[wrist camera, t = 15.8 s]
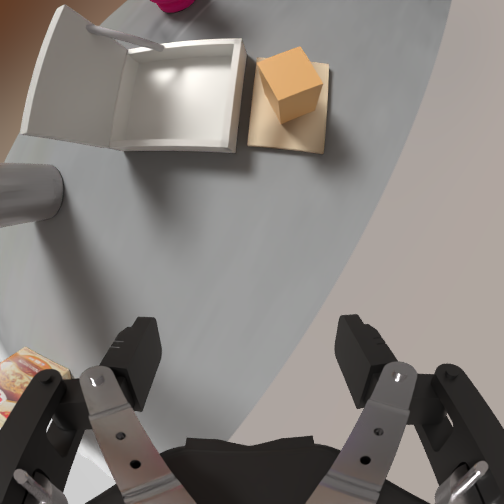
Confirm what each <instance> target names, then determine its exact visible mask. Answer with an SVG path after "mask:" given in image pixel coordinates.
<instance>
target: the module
mask: <svg viewBox="0 0 504 504" xmlns="http://www.w3.org/2000/svg"><path fill="white" fill-rule="evenodd" d="M257 66H258V70H259V74H260V78H261V82H262V86H263V90H264V94H265V95H266V97H267V99H268V101H269V103H270V105H271V107H272V108H273V110H274V112H275V114H276V116H277V118H278V120H279V122H280V124H283V123H285V122H288V121H290V120H293V119H295V118H297V117H300V116H302V115H305V114H307V113H310V112H312V111H315V109H316V106H317V102H318V99H319V96H320V93H321V89H322V86H323V82H322V80H321V79H320V77H319V75H318V74H317V72H316V70H315V69H314V67H313V65H312V64H311V62H310V61H309V59H308V58H307V56H306V54H305V53H304V51H303V50H302V48H301V47H297V48H294V49H291V50H288V51H286V52H283V53H280V54H277V55H275V56H272V57H270V58H267V59H265V60H262V61H260V62H257Z"/></svg>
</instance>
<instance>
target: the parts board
mask: <svg viewBox="0 0 504 504" xmlns="http://www.w3.org/2000/svg"><path fill="white" fill-rule="evenodd" d="M265 59H267V58H257V62H260V61H262V60H265ZM257 62H256V70H255V79H254V88H253V96H252V105H251V115H250V124H249V133H248V142H247V145H248V146H252V147H264V148H275V149H285V150H294V151H303V152H310V153H318V154H323V153H324V144H325V131H326V116H327V99H328V78H329V64H323V63H316V62H311V64H312V65H313V67H314V69H315V70H316V72H317V74H318V75H319V77H320V79H321V80H322V82H323V86H322V89H321V93H320V96H319V99H318V102H317V106H316V109H315V111H312V112H310V113H307V114H305V115H302V116H300V117H297V118H295V119H293V120H290V121H288V122H285V123H283V124H280V122H279V120H278V118H277V116H276V114H275V112H274V110H273V108H272V107H271V105H270V103H269V101H268V99H267V97H266V95H265V94H264V90H263V86H262V82H261V78H260V74H259V70H258V66H257Z"/></svg>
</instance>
